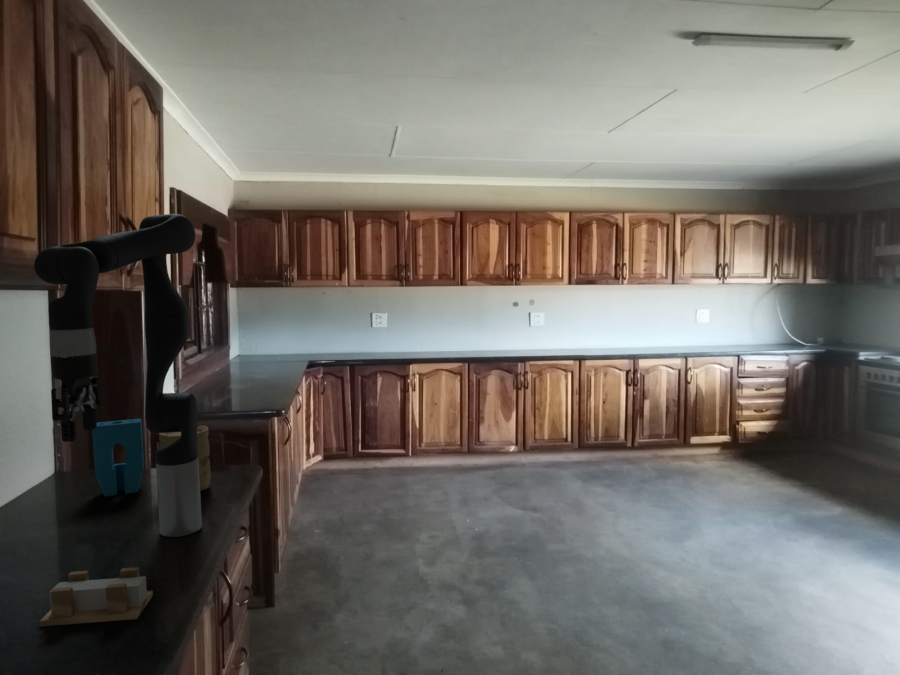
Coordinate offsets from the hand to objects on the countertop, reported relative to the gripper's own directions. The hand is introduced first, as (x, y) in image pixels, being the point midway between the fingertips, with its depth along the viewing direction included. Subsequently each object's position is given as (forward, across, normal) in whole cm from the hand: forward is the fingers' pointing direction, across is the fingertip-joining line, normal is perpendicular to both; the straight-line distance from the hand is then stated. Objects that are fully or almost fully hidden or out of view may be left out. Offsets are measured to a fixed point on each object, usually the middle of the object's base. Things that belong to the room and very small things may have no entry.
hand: (80, 435), depth 118 cm
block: (+30, -54, -15) cm, 64 cm away
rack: (+30, +11, +6) cm, 33 cm away
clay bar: (+29, +11, +6) cm, 32 cm away
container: (+30, -50, +4) cm, 59 cm away
